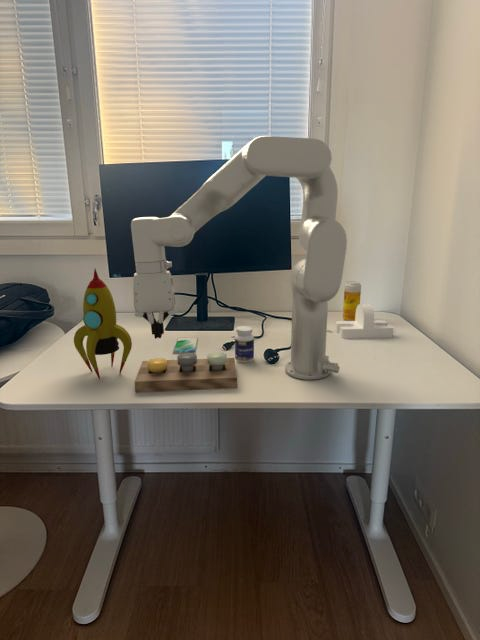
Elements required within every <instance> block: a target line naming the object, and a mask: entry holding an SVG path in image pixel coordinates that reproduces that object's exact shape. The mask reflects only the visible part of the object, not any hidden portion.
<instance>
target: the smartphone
mask: <svg viewBox="0 0 480 640" xmlns="http://www.w3.org/2000/svg"><path fill="white" fill-rule="evenodd" d="M198 343H199V338H198V337H177V339H176V342H175V345H174V348H173V351H172V354H173V355H180V354H183V353H193V354H197V349H198Z"/></svg>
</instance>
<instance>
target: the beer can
mask: <svg viewBox="0 0 480 640" xmlns="http://www.w3.org/2000/svg"><path fill="white" fill-rule="evenodd" d="M361 284H362V283H361V282H360V281H356V280H350V281H349V280H348V281H346V282H345V284H344V290H343V293H344V294H343V305H342V306H343V308H342V319H343V321H355V315H356V308H357V306H358V305H360V304H361V293H362V292H361V291H362V285H361Z"/></svg>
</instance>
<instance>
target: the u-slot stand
mask: <svg viewBox="0 0 480 640" xmlns="http://www.w3.org/2000/svg"><path fill="white" fill-rule="evenodd" d="M394 329H395V328H394V326H393V325H389V324H388V321H386V320H384V319H383V320H381V319H380V320H378V319H377V320H375V312H374V308H373V306H372V304H369V303H368V304H364V303H363V304H361V303H360V305H358V306H357V308H356V315H355V321H344V320H338V321H335V332H336V333H337V334H339V337H340V338H341V339H344V340H345V339H348V340H349V339H350V340H351V339H380V338H381V339H386V338H388V339H390V338H391V339H392V338H394Z"/></svg>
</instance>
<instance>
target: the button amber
mask: <svg viewBox="0 0 480 640" xmlns="http://www.w3.org/2000/svg"><path fill="white" fill-rule="evenodd" d="M167 360H168V359H166V358H161V357H159V358H152V359H149V360H147V361H148V362H147V367H148V370H149V371H152V373H164V372H163V371H164V370H166V369H167Z"/></svg>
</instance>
